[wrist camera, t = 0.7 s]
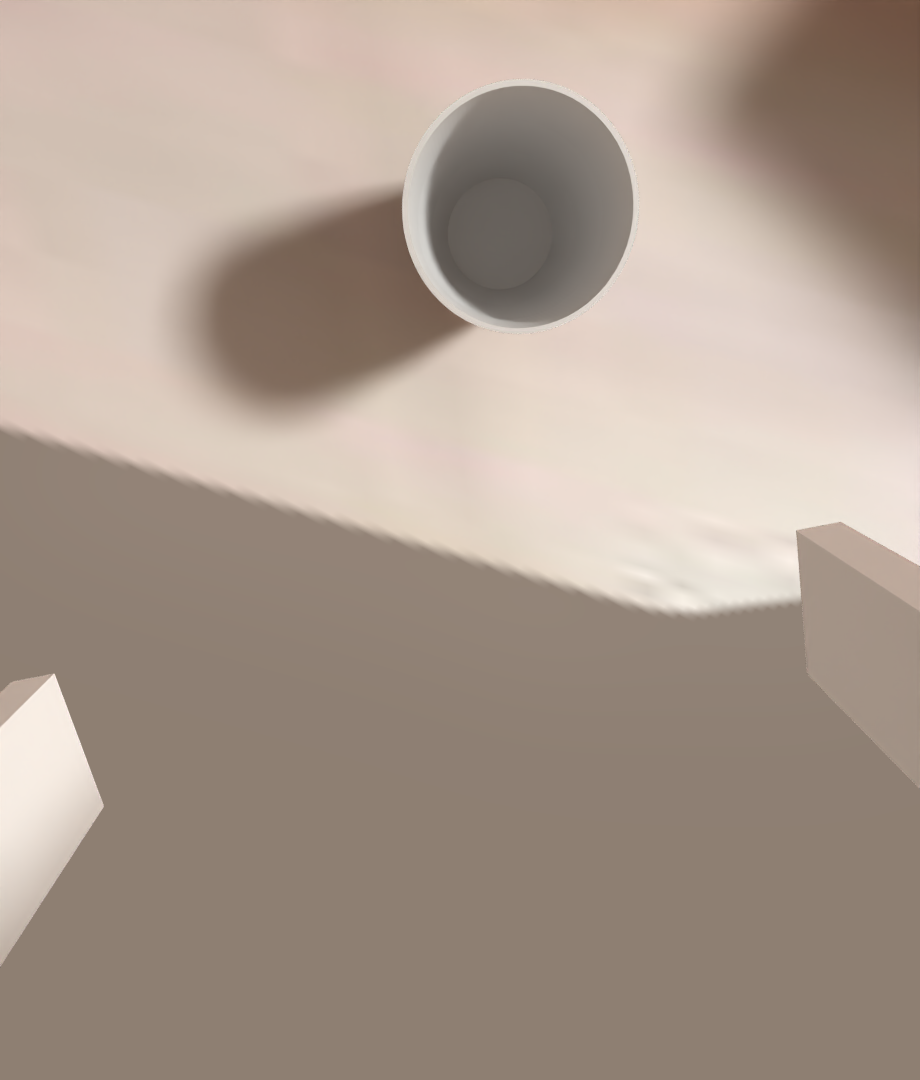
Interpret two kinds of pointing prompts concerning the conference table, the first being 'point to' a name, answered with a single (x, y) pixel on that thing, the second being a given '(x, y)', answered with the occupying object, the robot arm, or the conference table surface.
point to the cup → (520, 206)
